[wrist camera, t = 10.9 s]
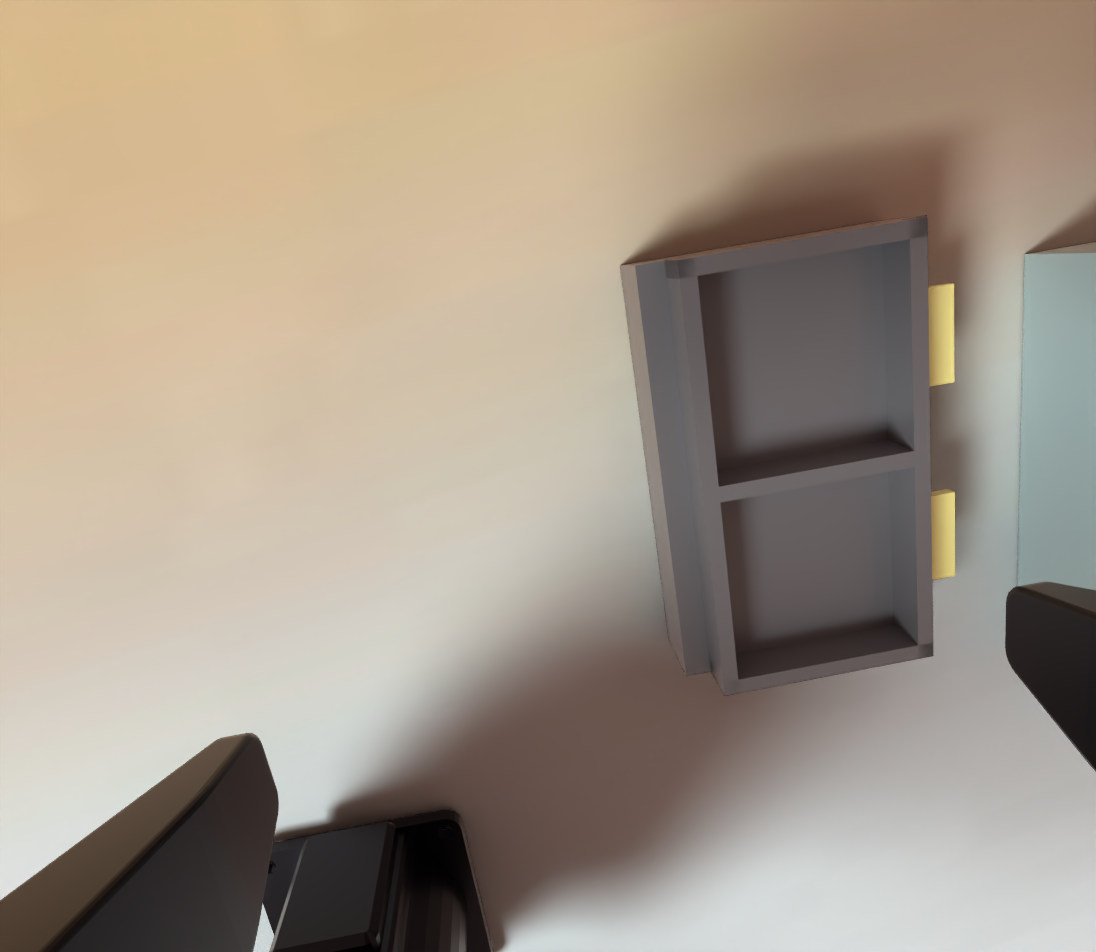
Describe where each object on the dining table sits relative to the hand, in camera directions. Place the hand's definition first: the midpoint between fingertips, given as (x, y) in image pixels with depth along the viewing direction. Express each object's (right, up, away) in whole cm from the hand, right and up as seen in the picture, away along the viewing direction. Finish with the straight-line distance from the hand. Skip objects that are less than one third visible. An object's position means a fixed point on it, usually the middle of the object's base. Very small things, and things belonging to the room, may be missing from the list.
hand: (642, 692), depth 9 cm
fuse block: (+5, +3, +12) cm, 13 cm away
